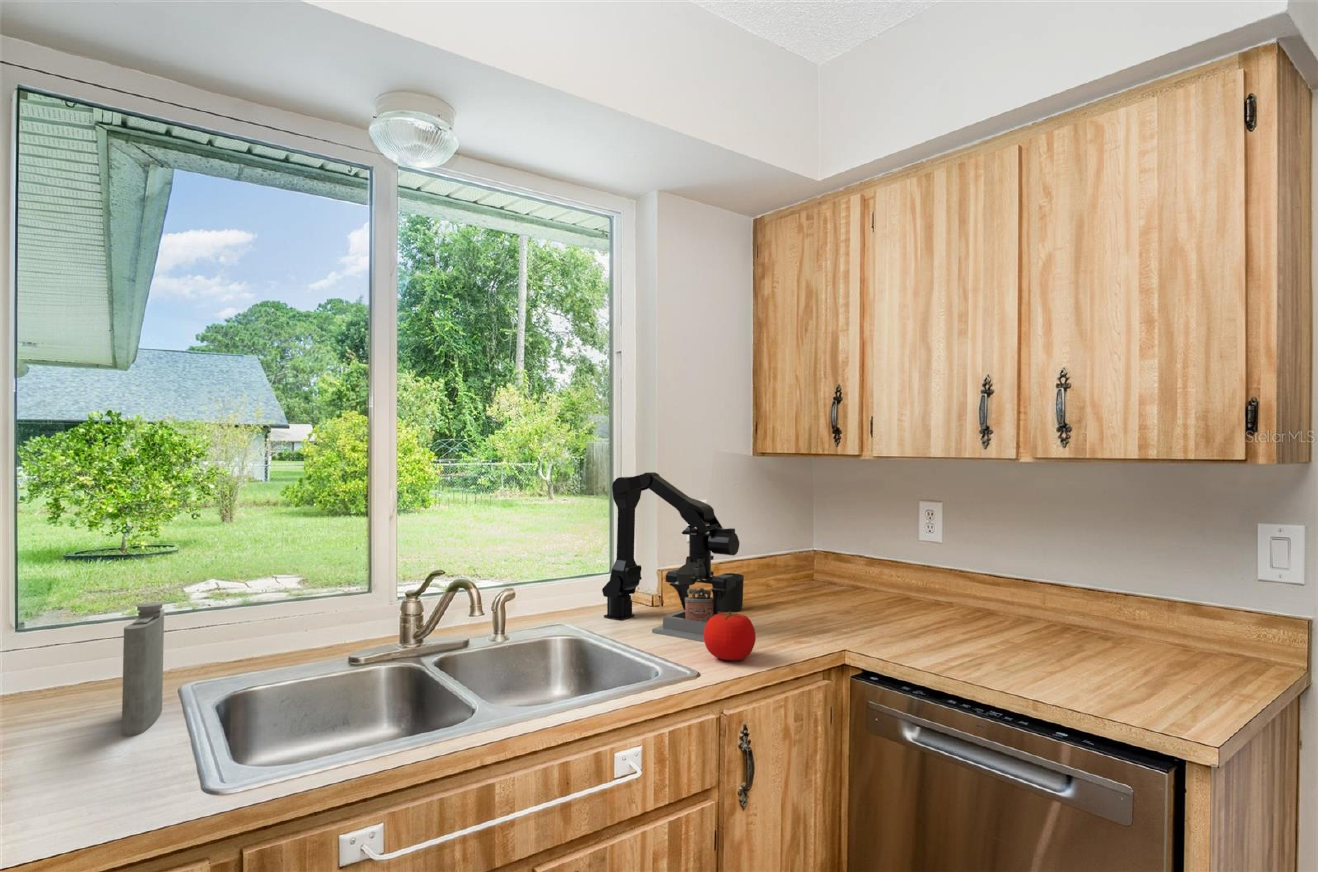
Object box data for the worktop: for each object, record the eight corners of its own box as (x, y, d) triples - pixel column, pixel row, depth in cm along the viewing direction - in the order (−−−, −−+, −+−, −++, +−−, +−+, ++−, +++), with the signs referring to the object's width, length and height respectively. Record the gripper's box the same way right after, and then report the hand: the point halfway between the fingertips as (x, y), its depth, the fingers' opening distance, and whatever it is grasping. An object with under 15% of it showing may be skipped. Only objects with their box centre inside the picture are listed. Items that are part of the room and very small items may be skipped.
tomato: (761, 654, 165) (761, 609, 165) (745, 669, 154) (745, 620, 154) (715, 649, 170) (715, 604, 170) (696, 662, 159) (696, 614, 159)
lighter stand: (652, 632, 185) (652, 617, 185) (689, 619, 200) (689, 605, 200) (712, 643, 175) (712, 626, 175) (746, 628, 190) (746, 613, 190)
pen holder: (745, 612, 209) (745, 578, 209) (713, 612, 209) (713, 578, 209) (741, 605, 218) (741, 573, 218) (711, 605, 218) (711, 572, 218)
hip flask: (143, 706, 131) (145, 596, 131) (169, 702, 132) (171, 594, 133) (119, 737, 116) (121, 614, 117) (149, 733, 118) (151, 611, 119)
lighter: (715, 625, 189) (715, 587, 189) (715, 628, 185) (715, 589, 186) (684, 625, 189) (684, 587, 189) (684, 628, 186) (684, 589, 186)
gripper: (653, 552, 187) (653, 612, 186) (715, 558, 176) (715, 622, 176) (677, 548, 196) (676, 605, 195) (737, 553, 185) (737, 614, 185)
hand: (700, 611), depth 187 cm, fingers open, 9 cm apart
